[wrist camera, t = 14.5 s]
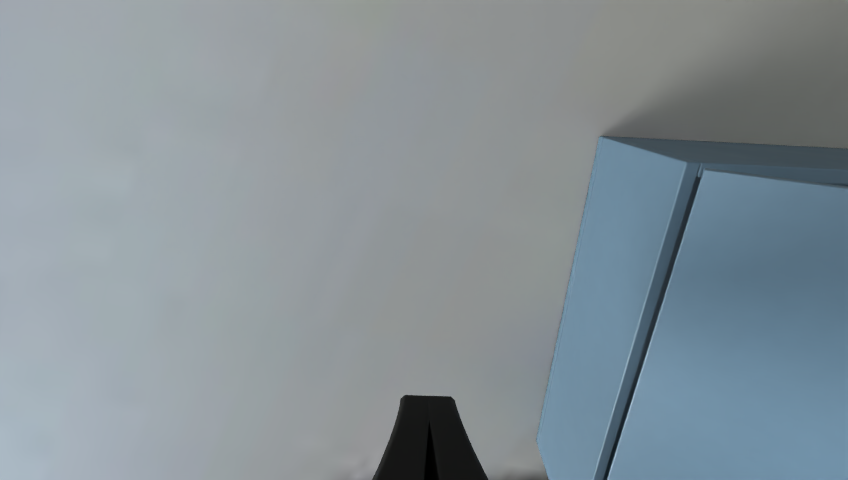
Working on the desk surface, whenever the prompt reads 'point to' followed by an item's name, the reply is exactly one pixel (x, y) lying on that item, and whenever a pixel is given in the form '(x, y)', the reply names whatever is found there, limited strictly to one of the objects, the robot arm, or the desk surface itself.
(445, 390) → the desk surface
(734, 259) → the flap
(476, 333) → the desk surface
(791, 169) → the carton
